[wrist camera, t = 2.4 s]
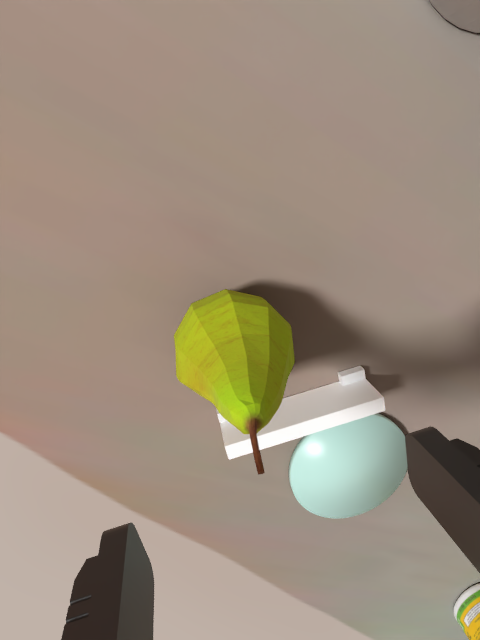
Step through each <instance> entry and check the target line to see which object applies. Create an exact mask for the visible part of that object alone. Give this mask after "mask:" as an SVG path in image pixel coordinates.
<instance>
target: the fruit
mask: <svg viewBox="0 0 480 640" xmlns="http://www.w3.org/2000/svg"><path fill="white" fill-rule="evenodd" d="M174 340H175V349H176V376H177V378H178V379H179V381H180V382H181V383H183V384H184V385H186V386H187V387H189V388H190V389H192V390H193V391H195V392H196V393H198V394H199V395H201V396H202V397H204V398H205V399H207V400H209V401H211V402H212V403H213V404H214V405H215V406H216V408H217V410H218V412H219V413H220V414H221V415H222V417H223V418H224V419H226V420H227V421H228V422H230V423H231V424H232V425H233V426H235V427H236V428H237V429H238V430H239V431H241V432H242V433H243V434H250V439H251V444H252V449H253V454H254V458H255V463H256V467H257V471H258V474H263V473H265V472H264V468H263V464H262V459H261V455H260V450H259V445H258V440H257V433H258V432H259V431H260V430H261V429H262V428H264V427H265V426H266V425H267V424H268V423H269V422H270V421H271V419H272V418H273V416H274V415H275V413H276V412H277V410H278V409H279V407H280V404H281V402H282V399H283V395H284V391H285V387H286V383H287V379H288V376H289V374H290V372H291V370H292V368H293V365H294V363H295V359H294V349H293V339H292V330H291V325H290V324H289V323H288V322H287V321H286V320H285V319H284V318H283V317H282V316H281V315H280V314H279V313H278V312H277V311H276V310H275V309H274V308H273V307H272V306H271V305H270V304H269V303H268V302H267V301H266V300H265V299H263V298H262V297H260V296H255V295H250V294H246V293H241V292H237V291H232V290H227V289H225V290H222V291H220V292H218V293H215V294H213V295H210V296H208V297H206V298H203V299H201V300H198V301H196V302H194V303H192V304H191V305H190V307H189V309H188V311H187V313H186V314H185V316H184V318H183V320H182V322H181V323H180V325H179V327H178V329H177V331H176V333H175V335H174Z"/></svg>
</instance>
